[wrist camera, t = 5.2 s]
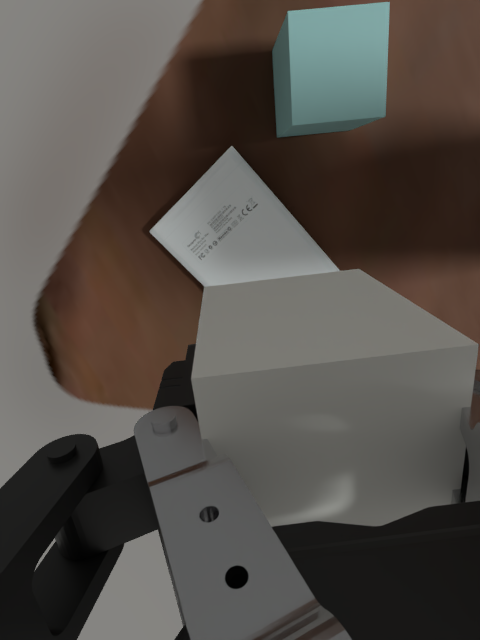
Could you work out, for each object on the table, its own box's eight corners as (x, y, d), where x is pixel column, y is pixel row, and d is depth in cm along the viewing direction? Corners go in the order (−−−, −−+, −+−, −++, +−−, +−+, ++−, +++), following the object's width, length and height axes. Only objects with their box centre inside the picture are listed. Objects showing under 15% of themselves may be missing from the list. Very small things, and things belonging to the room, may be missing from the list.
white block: (358, 268, 12) (478, 344, 7) (358, 401, 14) (453, 552, 8) (204, 286, 12) (191, 378, 6) (223, 418, 14) (226, 580, 8)
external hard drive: (263, 340, 32) (151, 229, 28) (340, 273, 30) (231, 146, 26) (265, 348, 30) (147, 232, 26) (347, 278, 28) (232, 144, 25)
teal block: (350, 43, 24) (389, 1, 18) (349, 130, 26) (385, 116, 20) (271, 50, 24) (287, 11, 18) (276, 137, 26) (292, 125, 20)
